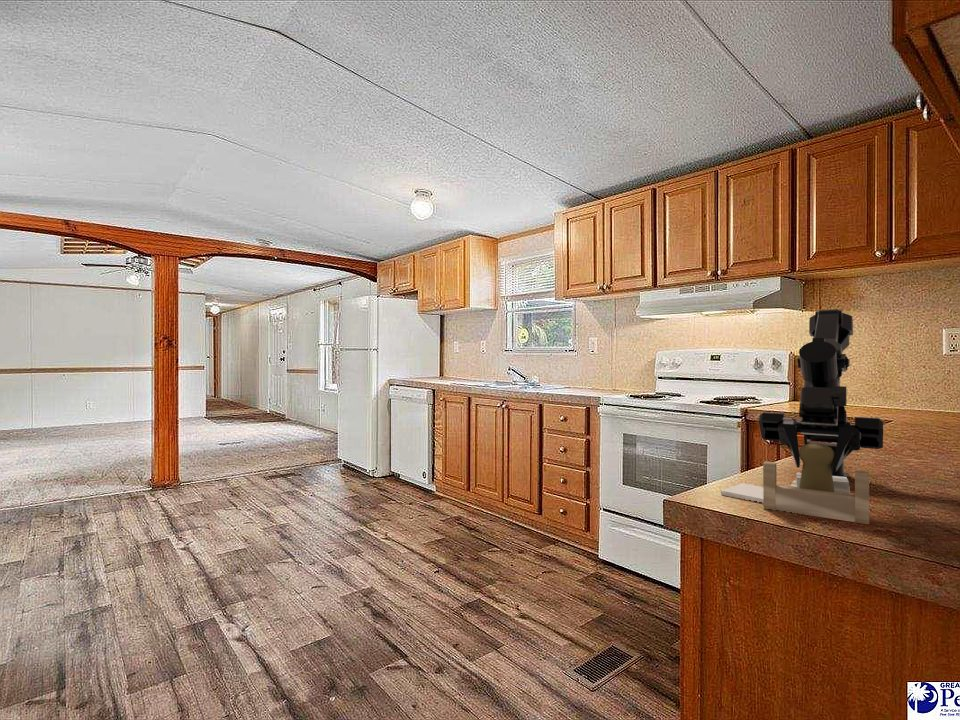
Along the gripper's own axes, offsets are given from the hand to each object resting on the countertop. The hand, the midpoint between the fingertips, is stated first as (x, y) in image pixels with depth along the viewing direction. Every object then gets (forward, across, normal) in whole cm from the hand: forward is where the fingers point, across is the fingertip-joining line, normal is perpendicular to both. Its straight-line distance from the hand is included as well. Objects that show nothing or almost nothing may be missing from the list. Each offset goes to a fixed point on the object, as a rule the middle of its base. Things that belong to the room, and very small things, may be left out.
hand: (816, 468), depth 91 cm
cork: (+4, 0, +6) cm, 7 cm away
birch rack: (+8, 0, +2) cm, 8 cm away
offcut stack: (-1, 0, +11) cm, 11 cm away
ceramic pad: (+2, -10, +8) cm, 13 cm away
